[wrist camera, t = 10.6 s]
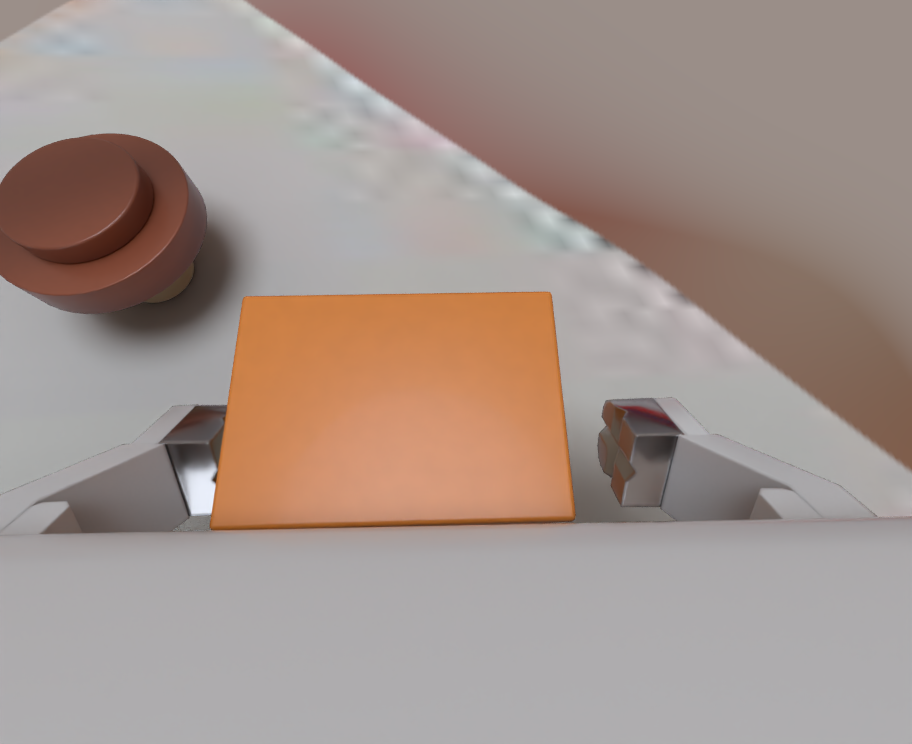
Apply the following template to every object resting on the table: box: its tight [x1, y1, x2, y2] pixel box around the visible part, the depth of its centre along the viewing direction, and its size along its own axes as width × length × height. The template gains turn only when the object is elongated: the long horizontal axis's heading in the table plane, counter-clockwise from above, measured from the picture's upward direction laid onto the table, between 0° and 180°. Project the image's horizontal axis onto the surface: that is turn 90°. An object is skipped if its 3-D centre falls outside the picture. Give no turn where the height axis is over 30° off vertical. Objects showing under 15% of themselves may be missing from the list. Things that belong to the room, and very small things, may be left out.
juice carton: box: [210, 292, 576, 531], centre depth 11 cm, size 6×4×8 cm
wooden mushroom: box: [0, 134, 207, 314], centre depth 15 cm, size 6×6×4 cm
